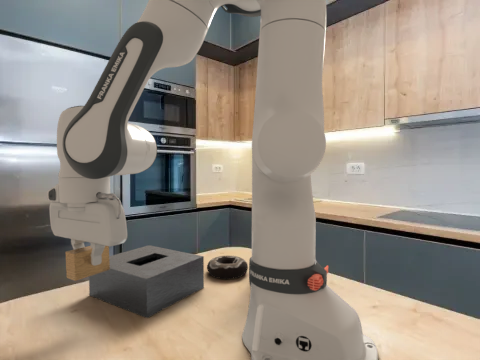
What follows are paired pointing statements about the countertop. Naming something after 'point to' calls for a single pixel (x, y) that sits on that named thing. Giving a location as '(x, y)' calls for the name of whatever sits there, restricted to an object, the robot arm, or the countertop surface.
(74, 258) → the brown wooden block
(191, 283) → the post box
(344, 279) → the countertop surface
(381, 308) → the countertop surface
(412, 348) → the countertop surface
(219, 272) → the donut
